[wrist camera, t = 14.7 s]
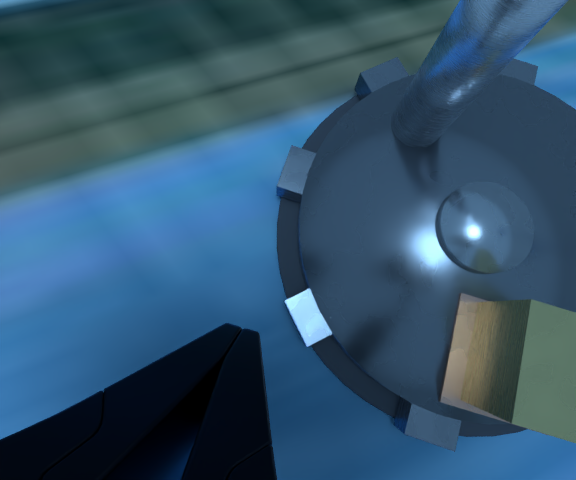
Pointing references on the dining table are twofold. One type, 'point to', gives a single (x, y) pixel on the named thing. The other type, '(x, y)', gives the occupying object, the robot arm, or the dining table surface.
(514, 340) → the link block
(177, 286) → the dining table surface
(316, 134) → the base mat
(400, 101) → the sprocket
